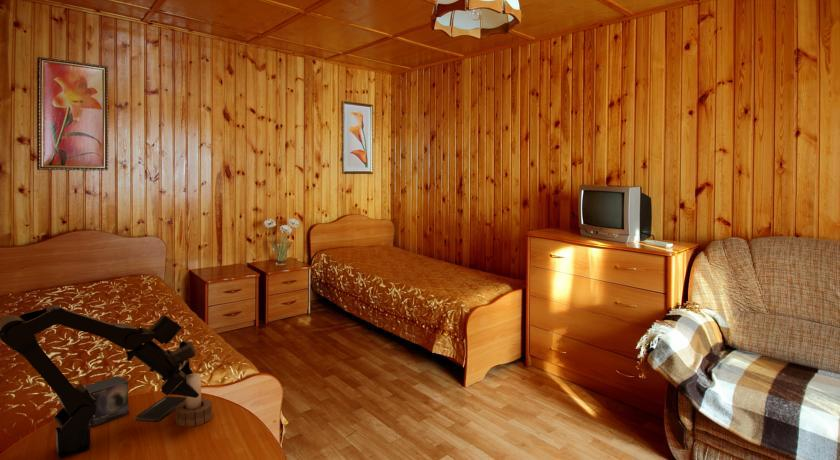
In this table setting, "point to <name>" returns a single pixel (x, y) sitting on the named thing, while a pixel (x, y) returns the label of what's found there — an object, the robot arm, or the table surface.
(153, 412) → the phone
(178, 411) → the segmented block ring
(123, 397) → the small box
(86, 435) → the robot arm
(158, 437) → the table surface
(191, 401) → the tapered rounded pillar
